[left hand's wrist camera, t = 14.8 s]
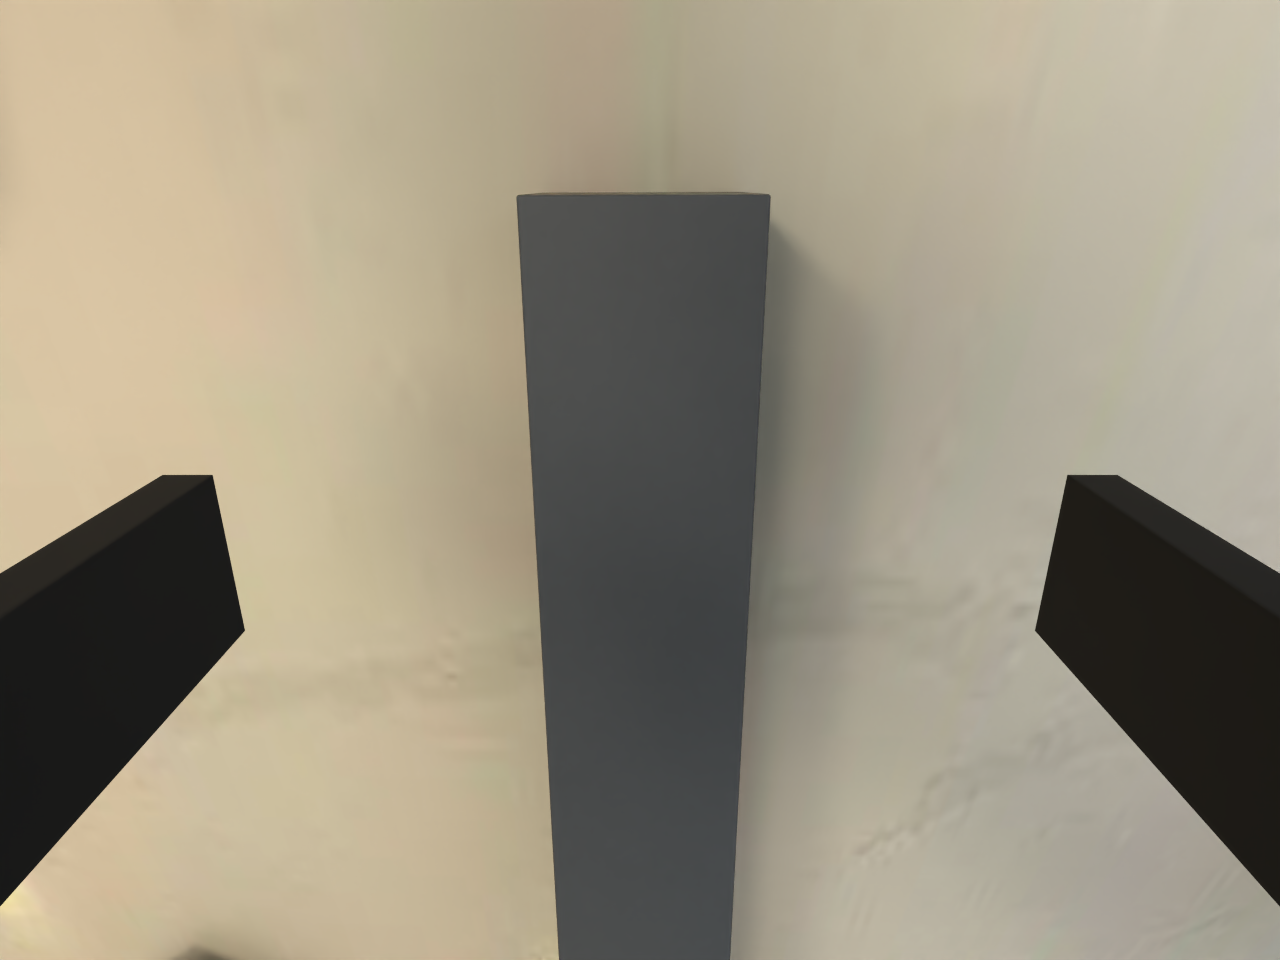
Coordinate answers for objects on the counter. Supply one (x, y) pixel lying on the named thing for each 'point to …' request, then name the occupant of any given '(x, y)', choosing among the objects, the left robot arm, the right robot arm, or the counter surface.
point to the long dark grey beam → (644, 551)
